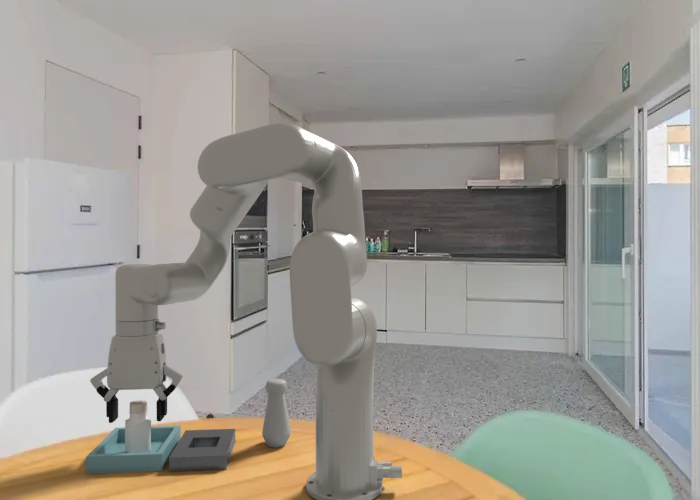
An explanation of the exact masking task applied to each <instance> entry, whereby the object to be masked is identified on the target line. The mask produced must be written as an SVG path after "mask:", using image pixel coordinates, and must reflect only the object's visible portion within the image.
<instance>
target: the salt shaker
mask: <svg viewBox="0 0 700 500" xmlns="http://www.w3.org/2000/svg"><path fill="white" fill-rule="evenodd" d="M287 389H288V384H287V381H286V380H285V379H283V378H271V379H268V380H267V381H266V383H265V392H266V393H268V396H267V400H266V406H265V412H264V414H265V415H264V418H263V419H264V420H263V425H262V431H261V432H262V438H263V439H264V441H265V444H266V445H267V447H269V448H277V449H278V448H281V447H285V446H286V444H287V442H288V440H289V439H290V436H291V425H290V424H291V423H290V418H289V413H288V406H287V401H286V396H285V392H287Z"/></svg>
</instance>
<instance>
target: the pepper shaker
mask: <svg viewBox="0 0 700 500" xmlns="http://www.w3.org/2000/svg"><path fill="white" fill-rule="evenodd" d="M128 413H129V418H127V419H125V421H124V427H125V450H126V451H127V453H145V452H150V449H151V427H152V420H151V419H150V418H149V416H147V414H148V401H147V400H144V399H136V400H132V401H130V402H129V412H128Z"/></svg>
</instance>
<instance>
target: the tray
mask: <svg viewBox="0 0 700 500" xmlns="http://www.w3.org/2000/svg"><path fill="white" fill-rule="evenodd" d="M181 430H182V426H181V425H161V426H158V425H157V426H151V449H150V452H145V453H127V451H126V450H125V426H124V427H115V428H113V430H112V431H110V432H109V433H108V434H107V436H105V438H104V439H102V440H101V441H100V442H99V444H98V445H96V446H95V448H93V449H92V450H91V451H90V452H89V453H88V455H86V457H85V460H86V461H85V466H86V467H85V468H86V469H85V471H86V473H85V474H87V475H88V474H89V475H90V474H111V473H112V474H113V473H135V472H136V473H137V472H138V473H141V472H161V471H163V470H164V468H165V467H166V465H167V464H168V463H169V457H170V455H171V454H172V452H173V450H174V449H175V447H176V445H177V444H178V442H179V440H180V439H181V437H182V434H181V433H182V431H181Z"/></svg>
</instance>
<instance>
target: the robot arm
mask: <svg viewBox="0 0 700 500" xmlns="http://www.w3.org/2000/svg"><path fill="white" fill-rule="evenodd" d="M359 169H360V168H359V167H358V165H357V162H356V161H355V159H354V158H353V157H352V155H351V154H350V153H349V152H348V151H347V150H346V149H344V148H343V147H341V146H340V145H338V144H336V143H334V142H331V141H329V140H328V139H326V138H323V137H322V136H319V135H317V134H316V133H313V132H311V131H308V130H306V129H305V128H302V127H300V126H299V125H296V124H293V123H290V122H289V123H288V122H277V123H271V124H270V123H269V124H267V125H263V126H260V127H255V128H252V129H249V130H245V131H241V132H236V133H233V134H228V135H226V136H223V137H220V138H217V139H215V140H213V141H212V142H210V143H208V145H207V146H205V147H204V149H202V151H201V154H200V155H199V158H198V160H197V173H198V176H199V178H200V181H202V182H203V184H204V185H206V187H204V189H203V191H202V192H201V193H200V195H199V197H198V198H197V200H195V203H194V204H193V206H192V207H191V208H190V211H189V218H190V220H191V222H192V223H193V224H194V226H195V227H196V228H197V229H199V232H200V234H199V239H198V242H197V245H196V246H195V248H194V250H193V251H192V253H191V254H190V255H189V257H188V258H187V260H186V261H185V262H173V263H172V262H171V263H158V264H148V263H147V264H146V263H145V264H143V263H132V264H130V263H129V264H121V265H120V266H118V267H117V268H116V270H115V279H114V280H115V281H114V282H115V287H114V288H115V335H113V336H112V338H111V342H110V346H109V351H108V358H107V368H104V369H103V370H102V371H101V372H99V373H97V374H96V375H94V376H93V377H91V378H90V383H91V384H92V386H93V388H94V389H95V390H96V393H97V394H98V395H99V396H100V397H102V398H103V401H104V402H106V403H105V405H106V408H105V409H106V410H105V411H106V415H105V416H106V418H108V423H109V424H112V423H114V422H116V420H117V419H118V418H119V398H118V397H117V394H118V392H119V391H122V390H123V391H124V390H126V391H127V390H134V391H137V390H153V391H154V393H155V395H157V397H158V399H157V400H156V421H157V422H161V421H162V420H163V419H164V418H165V416H167V415H168V397H169V396H170V395H171V394H172V393H173V392H174V391H175V390H176V389H177V387H178V386H179V384H180V383H181V382H182V380H183V378H184V376H183V375H182V374H181V373H179V372H178V371H176V370H174V369H173V368H172V367H169V366H168V365H167V357H166V356H167V355H166V347H165V342H164V341H165V339H164V336H163V334H162V333H159V332H160V331H162V330H166V322H162V321H160V318H158V317H159V312H158V311H159V309H158V307H159V306H166V305H167V306H168V305H172V304H177V303H184V302H190V301H196V300H197V299H199V298H201V297H202V296H203V295H204V294H206V293H207V292H208V291H209V289H210V288H211V287H212V286H213V284H214V283H215V281H216V280H217V278H218V277H219V276H220V274H221V273H222V271H223V270H224V267H225V266H226V263H227V261H228V257H229V254H230V249H231V238H232V236H233V234H234V233H235V231H237V228H238V227H239V225H240V224H241V223H242V221H243V220H244V218H245V216H246V215H247V214H248V212H249V211H250V209H251V208H252V207H253V205H254V204H255V202H256V201H257V200H258V198H259V196H260V195H261V194H262V193H263V191H264V189H266V187H267V185H268V183H269V181H270V180H275V179H285V180H289V181H293V182H298V183H301V184H305V185H309V186H311V187H312V188H313V191H314V194H313V197H312V205H311V206H312V207H311V215H312V232H310V233H307V234H306V235H304V236H303V237H302V238H301V239H300V240H298V242H297V243H296V245H295V247H294V248H293V250H292V253H291V256H290V257H291V258H290V261H289V288H290V301H291V302H290V303H291V304H290V305H291V320H292V333H293V339H294V343H295V345H296V348H297V350H298V351H299V353H300V355H301V356H302V357H303V358H304V359H305V360H306V361H307V362H309V363H310V364H312V365H314V366H316V367H317V368H316V375H315V376H316V377H315V471H314V472H313V473H312V474H310V475H309V476H308V477H307V479H306V484H305V485H306V486H305V487H306V491H307V493H308V495H309V497H311V498H313V499H314V500H374V499H376V498H377V497H378V496H380V494H381V493H382V492H383V487H384V486H383V482H384V481H383V480H384V479H402V477H403V470H402V469H403V468H402V466H401V465H392V464H393V463H392V461H390V460H389V461H379V462H378V460H376V459H375V456H374V382H375V381H374V379H375V377H374V374H375V373H374V372H375V371H374V370H375V357H376V356H375V355H376V348H377V339H378V338H377V337H378V336H377V335H378V325H377V321H376V317H375V314H374V312H373V310H372V309H371V307H370V306H369V304H367V303H365V302H364V301H363V300H361V299H359V298H357V297H354V296H353V297H352V288H351V287H353V286H355V285H357V284H358V283H360V282H361V281H362V280H363V278H364V277H365V274H366V273H367V268H368V254H367V244H366V230H365V217H364V207H363V189H362V188H363V187H362V177H361V173H360V170H359ZM167 377H168V378H170V379H171V383H170V384H169V386H168V387H166V385H165V384H164V382H166V381H167ZM104 378H106V384H107V386H106V384H104V383H103V379H104Z"/></svg>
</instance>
